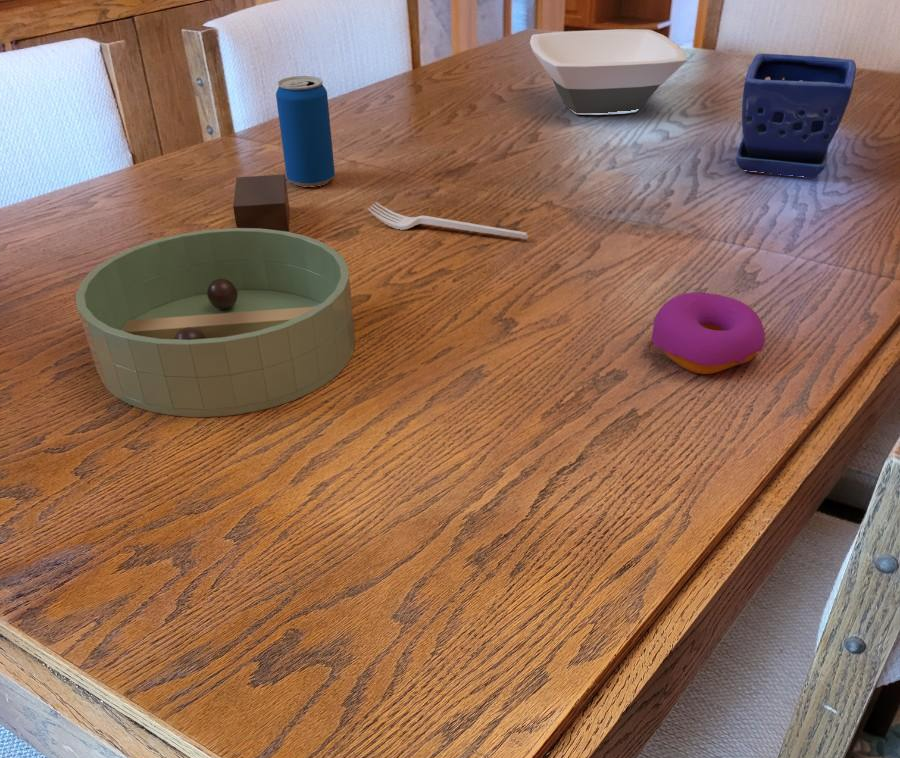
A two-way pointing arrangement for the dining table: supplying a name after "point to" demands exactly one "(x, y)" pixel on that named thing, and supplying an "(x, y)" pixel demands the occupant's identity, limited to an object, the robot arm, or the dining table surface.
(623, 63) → the bowl
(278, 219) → the block
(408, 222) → the fork
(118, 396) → the green round basin
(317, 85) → the beverage can
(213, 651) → the dining table surface
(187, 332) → the bead
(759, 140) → the flower pot
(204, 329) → the stirring stick
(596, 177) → the dining table surface
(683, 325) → the donut
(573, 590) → the dining table surface
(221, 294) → the bead
